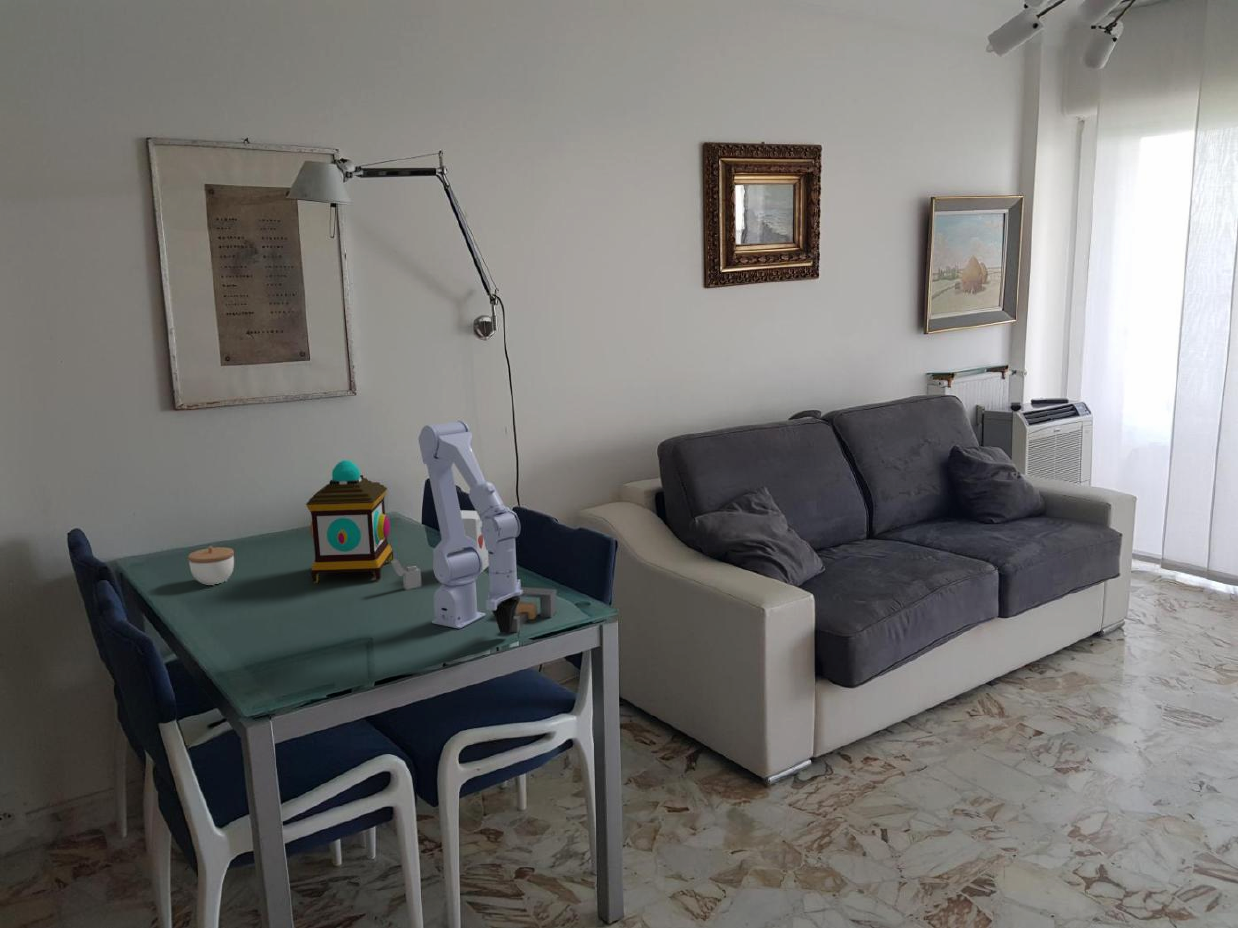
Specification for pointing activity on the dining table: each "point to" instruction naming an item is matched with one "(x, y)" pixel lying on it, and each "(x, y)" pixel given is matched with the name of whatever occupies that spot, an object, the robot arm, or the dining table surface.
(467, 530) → the supplement box
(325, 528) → the decorative lantern
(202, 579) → the lidded jar
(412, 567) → the lighter
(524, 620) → the plug
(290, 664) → the dining table surface
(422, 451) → the robot arm
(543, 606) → the housing
